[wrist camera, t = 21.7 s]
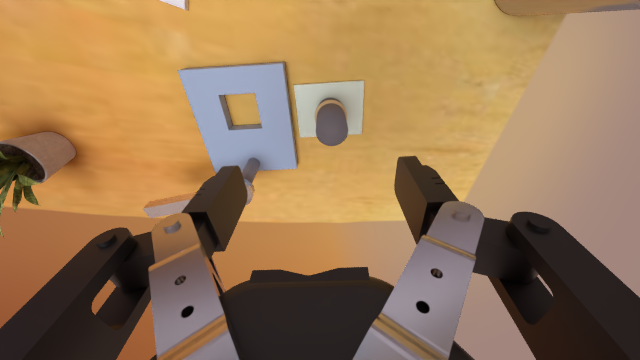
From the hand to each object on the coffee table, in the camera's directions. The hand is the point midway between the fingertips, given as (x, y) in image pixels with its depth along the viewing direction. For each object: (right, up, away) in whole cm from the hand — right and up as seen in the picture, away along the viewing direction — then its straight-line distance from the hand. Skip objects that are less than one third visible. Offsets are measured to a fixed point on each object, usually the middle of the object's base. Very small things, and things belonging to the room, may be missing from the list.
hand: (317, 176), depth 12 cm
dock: (-11, +9, +24) cm, 28 cm away
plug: (+2, +10, +23) cm, 25 cm away
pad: (+2, +11, +24) cm, 26 cm away
